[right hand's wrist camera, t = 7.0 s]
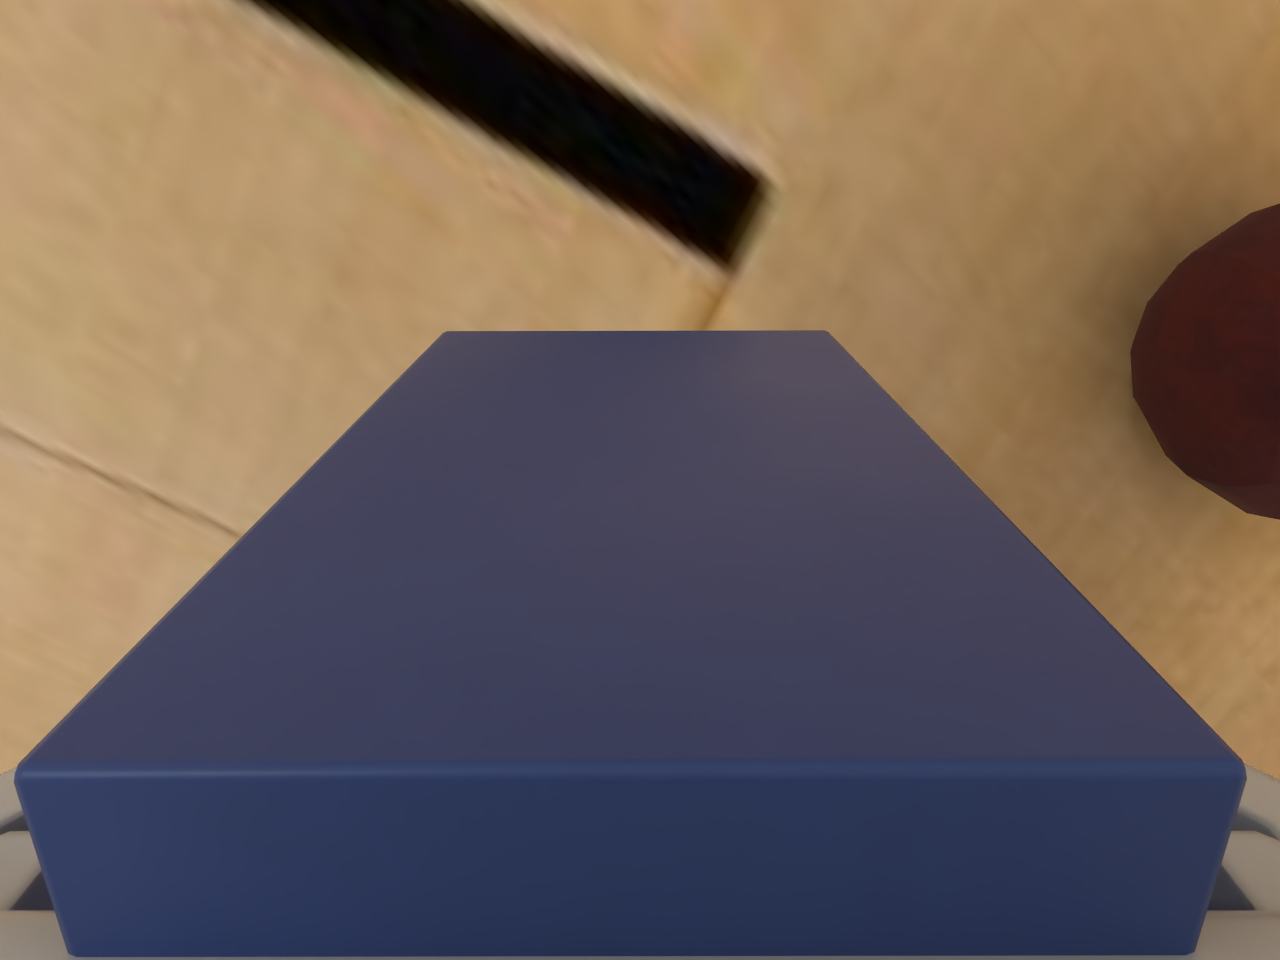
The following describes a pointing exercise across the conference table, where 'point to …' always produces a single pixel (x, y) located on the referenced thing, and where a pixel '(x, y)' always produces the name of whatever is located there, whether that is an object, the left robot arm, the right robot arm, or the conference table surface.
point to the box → (632, 693)
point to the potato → (1219, 364)
